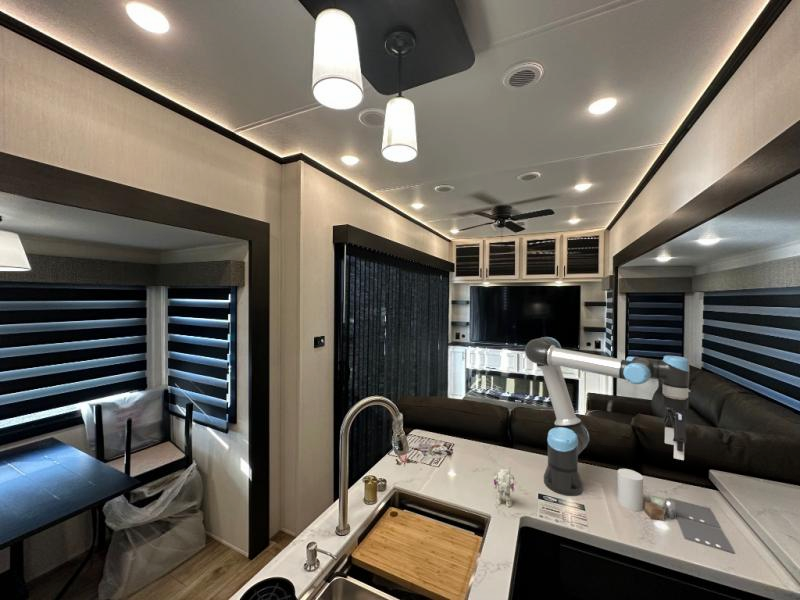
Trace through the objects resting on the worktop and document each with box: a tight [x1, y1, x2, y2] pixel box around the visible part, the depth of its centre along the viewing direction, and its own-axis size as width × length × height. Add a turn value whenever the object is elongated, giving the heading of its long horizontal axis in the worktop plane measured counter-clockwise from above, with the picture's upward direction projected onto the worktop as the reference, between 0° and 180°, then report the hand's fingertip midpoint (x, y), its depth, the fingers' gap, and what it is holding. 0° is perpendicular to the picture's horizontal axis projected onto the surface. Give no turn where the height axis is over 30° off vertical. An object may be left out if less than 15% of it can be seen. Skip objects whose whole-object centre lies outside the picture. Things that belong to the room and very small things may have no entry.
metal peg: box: [664, 497, 676, 520], centre depth 117 cm, size 3×3×6 cm
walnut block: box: [644, 501, 665, 522], centre depth 117 cm, size 4×4×4 cm
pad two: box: [669, 497, 721, 529], centre depth 119 cm, size 12×12×1 cm
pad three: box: [676, 516, 735, 554], centre depth 108 cm, size 12×12×1 cm
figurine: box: [493, 465, 515, 508], centre depth 124 cm, size 8×8×15 cm
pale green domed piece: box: [650, 495, 665, 510], centre depth 123 cm, size 4×4×3 cm
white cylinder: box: [617, 468, 644, 512], centre depth 124 cm, size 8×8×12 cm
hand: (673, 451), depth 120 cm, fingers open, 13 cm apart
